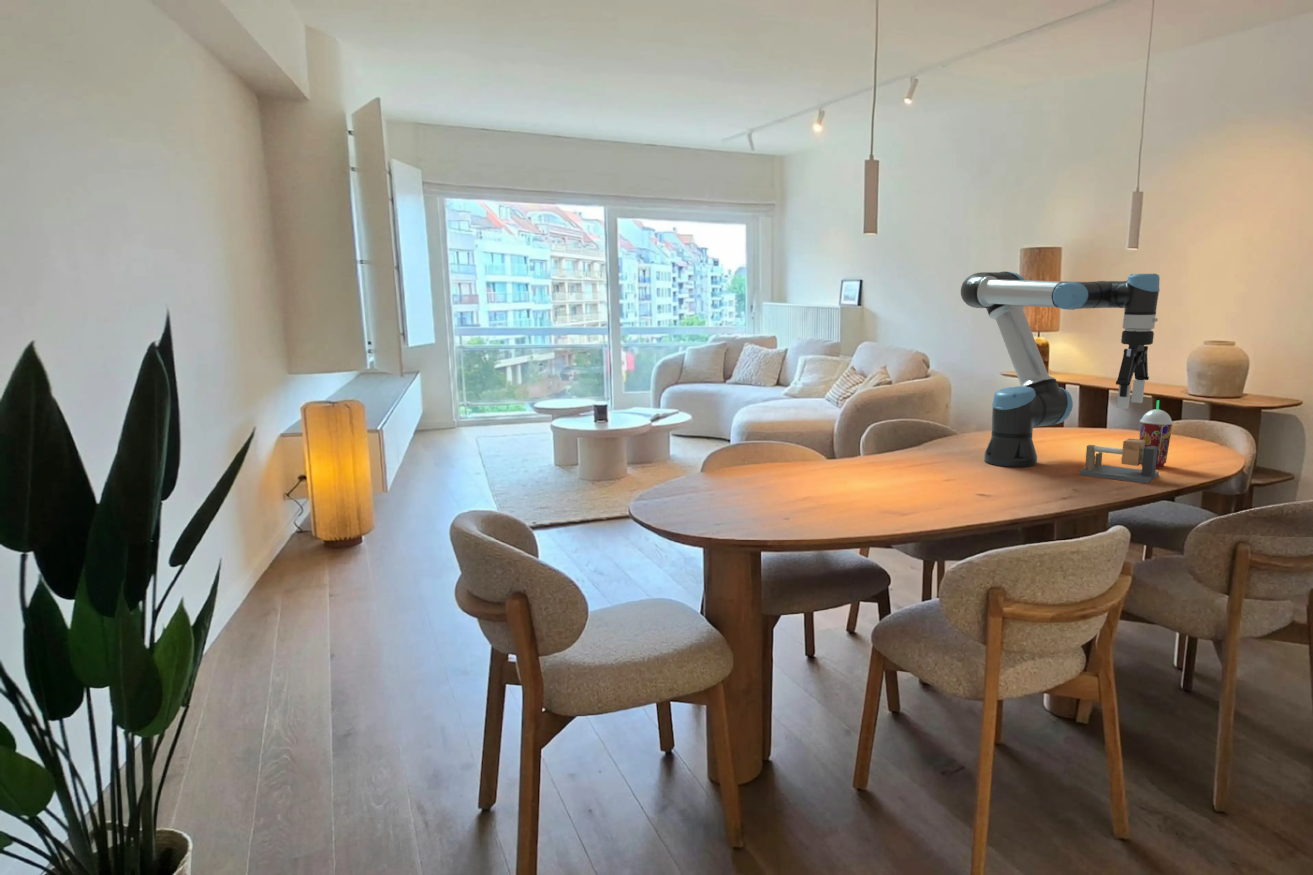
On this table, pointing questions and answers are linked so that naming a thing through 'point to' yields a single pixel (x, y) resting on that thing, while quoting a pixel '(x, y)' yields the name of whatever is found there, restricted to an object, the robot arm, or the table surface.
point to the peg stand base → (1120, 473)
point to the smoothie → (1157, 432)
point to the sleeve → (1132, 451)
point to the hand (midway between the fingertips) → (1129, 405)
